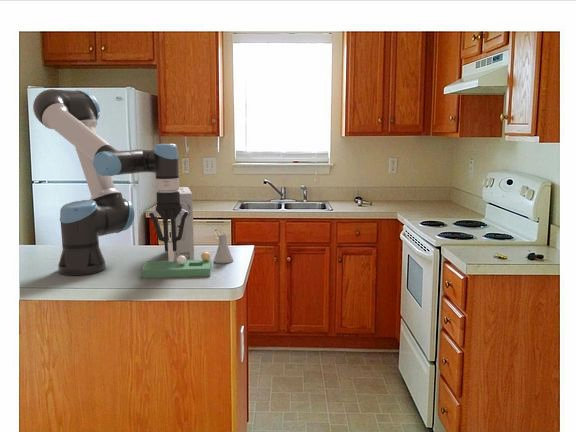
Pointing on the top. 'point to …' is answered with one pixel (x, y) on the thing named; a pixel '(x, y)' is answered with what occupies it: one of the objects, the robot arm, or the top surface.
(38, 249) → the top surface
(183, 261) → the ball
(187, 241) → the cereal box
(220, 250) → the flask
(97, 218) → the robot arm
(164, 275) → the green
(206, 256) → the orange ball
